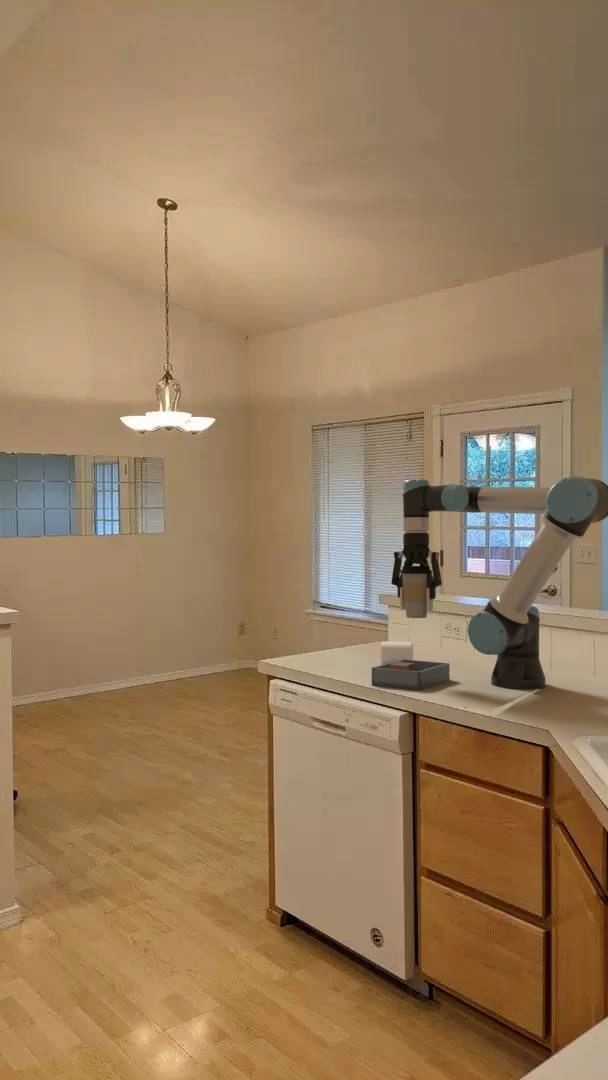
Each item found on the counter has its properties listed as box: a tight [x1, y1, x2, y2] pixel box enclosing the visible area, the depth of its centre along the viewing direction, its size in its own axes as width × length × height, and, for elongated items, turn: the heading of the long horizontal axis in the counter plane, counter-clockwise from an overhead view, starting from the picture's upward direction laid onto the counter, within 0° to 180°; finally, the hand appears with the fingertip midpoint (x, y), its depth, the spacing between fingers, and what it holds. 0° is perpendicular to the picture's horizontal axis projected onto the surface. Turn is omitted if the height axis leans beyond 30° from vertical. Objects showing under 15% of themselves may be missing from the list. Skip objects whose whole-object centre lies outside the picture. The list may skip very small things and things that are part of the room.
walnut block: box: [391, 662, 414, 671], centre depth 243 cm, size 5×5×5 cm
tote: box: [371, 659, 450, 691], centre depth 248 cm, size 15×20×5 cm
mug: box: [380, 641, 414, 665], centre depth 281 cm, size 12×10×8 cm
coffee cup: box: [400, 565, 433, 619], centre depth 251 cm, size 9×9×15 cm
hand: (416, 609), depth 251 cm, fingers closed on coffee cup, 8 cm apart
